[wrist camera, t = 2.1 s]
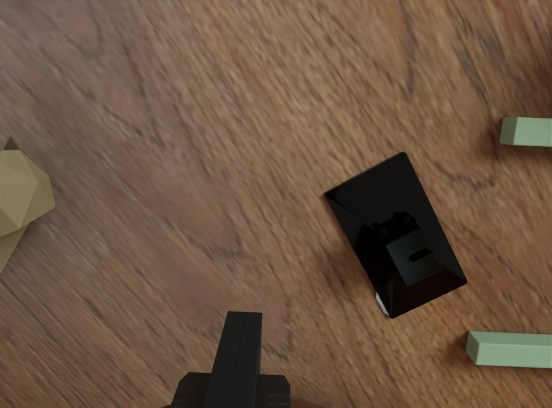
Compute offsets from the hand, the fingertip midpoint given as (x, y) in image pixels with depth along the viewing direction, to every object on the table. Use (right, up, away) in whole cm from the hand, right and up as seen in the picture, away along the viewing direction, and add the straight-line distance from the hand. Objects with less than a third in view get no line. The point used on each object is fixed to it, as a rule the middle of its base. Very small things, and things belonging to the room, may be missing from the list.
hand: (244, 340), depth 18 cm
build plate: (+11, +3, +16) cm, 20 cm away
